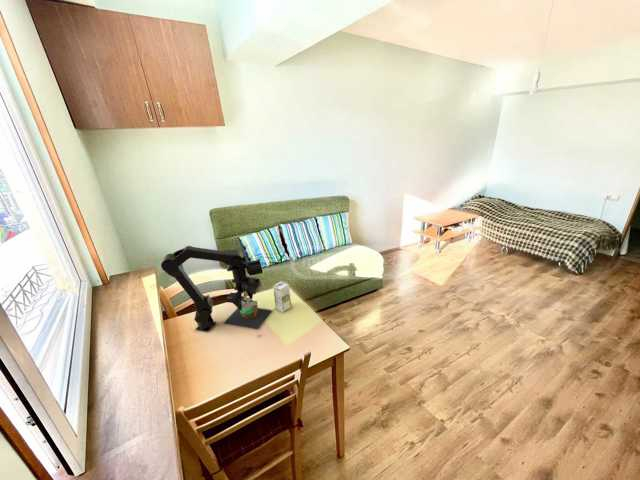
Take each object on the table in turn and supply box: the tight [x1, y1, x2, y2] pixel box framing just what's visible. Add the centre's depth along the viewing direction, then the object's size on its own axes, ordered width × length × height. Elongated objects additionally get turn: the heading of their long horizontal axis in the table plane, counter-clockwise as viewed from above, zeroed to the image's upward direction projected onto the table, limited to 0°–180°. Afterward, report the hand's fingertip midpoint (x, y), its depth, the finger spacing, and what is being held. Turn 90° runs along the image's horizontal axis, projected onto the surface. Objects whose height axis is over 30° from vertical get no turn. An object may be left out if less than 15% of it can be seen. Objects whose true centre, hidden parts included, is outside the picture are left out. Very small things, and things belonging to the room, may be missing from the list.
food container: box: [240, 295, 259, 319], centre depth 137 cm, size 12×6×10 cm, turn 60°
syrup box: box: [272, 281, 292, 313], centre depth 143 cm, size 6×6×14 cm
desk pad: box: [223, 307, 272, 330], centre depth 139 cm, size 18×14×1 cm
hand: (246, 304), depth 136 cm, fingers open, 9 cm apart
